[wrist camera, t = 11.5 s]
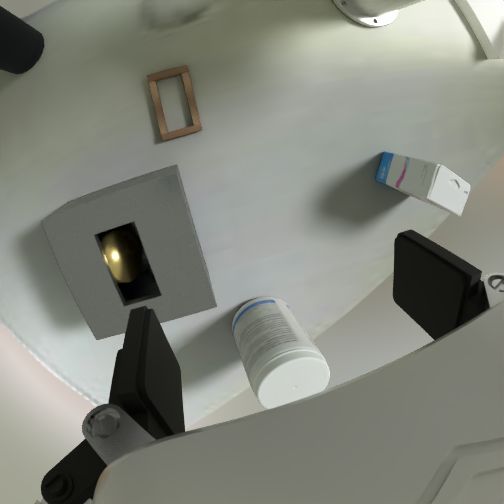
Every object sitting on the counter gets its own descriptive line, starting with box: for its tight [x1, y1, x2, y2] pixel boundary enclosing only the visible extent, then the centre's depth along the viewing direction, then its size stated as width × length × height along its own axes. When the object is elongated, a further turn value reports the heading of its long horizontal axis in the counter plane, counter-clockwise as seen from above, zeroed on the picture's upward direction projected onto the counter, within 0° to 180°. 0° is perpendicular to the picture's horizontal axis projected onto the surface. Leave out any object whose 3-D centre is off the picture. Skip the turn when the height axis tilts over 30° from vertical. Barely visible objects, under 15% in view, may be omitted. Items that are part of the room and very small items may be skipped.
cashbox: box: [41, 165, 217, 340], centre depth 34 cm, size 15×15×9 cm
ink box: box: [376, 152, 470, 216], centre depth 38 cm, size 9×5×12 cm, turn 73°
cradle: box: [147, 65, 202, 141], centre depth 33 cm, size 8×5×1 cm, turn 12°
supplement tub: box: [232, 297, 330, 409], centre depth 40 cm, size 10×10×15 cm
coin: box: [98, 229, 142, 283], centre depth 33 cm, size 3×6×6 cm
